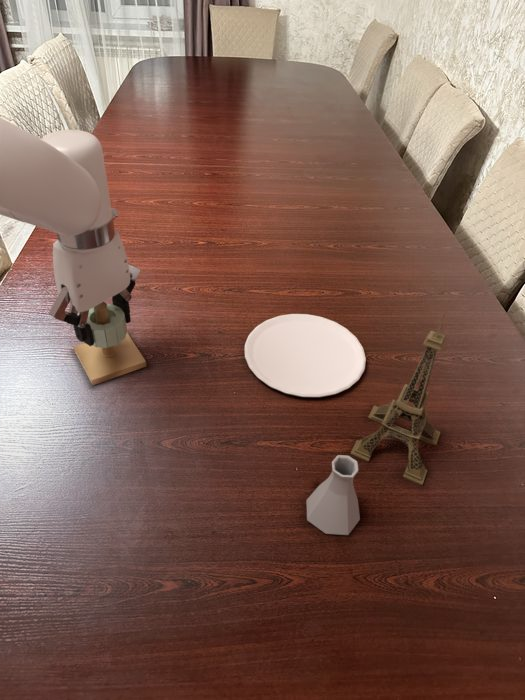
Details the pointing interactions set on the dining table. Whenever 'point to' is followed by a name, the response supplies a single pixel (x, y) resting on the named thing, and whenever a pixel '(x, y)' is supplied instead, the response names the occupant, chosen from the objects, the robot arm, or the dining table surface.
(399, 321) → the dining table surface
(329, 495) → the flask
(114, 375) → the stand
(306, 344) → the plate
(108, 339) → the pale green ring
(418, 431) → the eiffel tower
